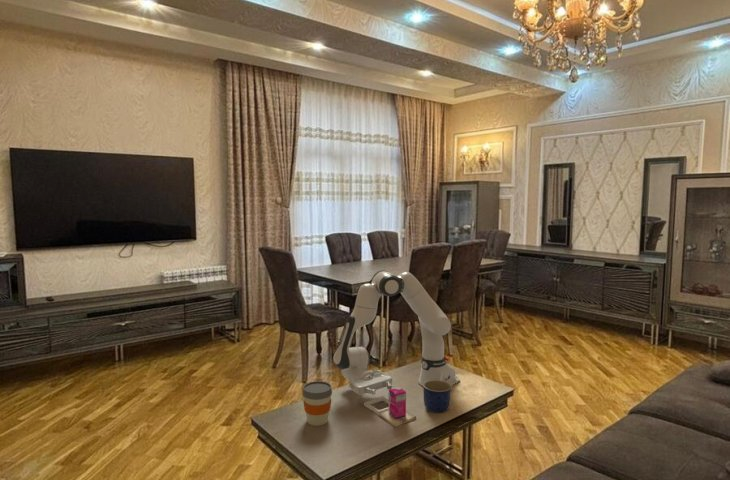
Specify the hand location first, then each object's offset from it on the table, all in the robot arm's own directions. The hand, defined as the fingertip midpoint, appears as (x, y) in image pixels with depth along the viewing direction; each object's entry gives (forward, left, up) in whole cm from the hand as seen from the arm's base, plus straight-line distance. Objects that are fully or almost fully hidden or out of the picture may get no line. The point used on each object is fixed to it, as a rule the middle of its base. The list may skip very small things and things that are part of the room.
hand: (382, 390), depth 203 cm
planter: (-20, +15, -9) cm, 26 cm away
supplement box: (0, +10, -8) cm, 13 cm away
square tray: (0, -1, -8) cm, 9 cm away
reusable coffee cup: (+30, -7, -9) cm, 32 cm away
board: (0, +11, -8) cm, 14 cm away
